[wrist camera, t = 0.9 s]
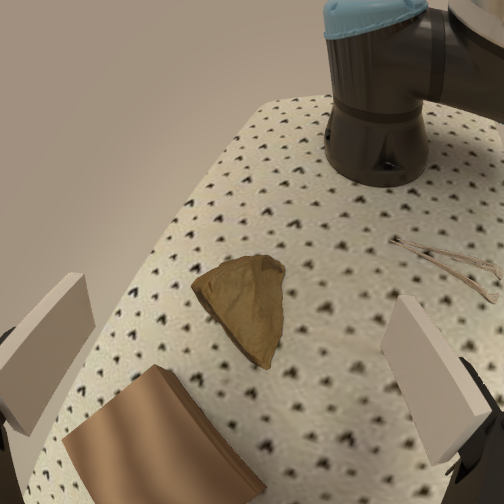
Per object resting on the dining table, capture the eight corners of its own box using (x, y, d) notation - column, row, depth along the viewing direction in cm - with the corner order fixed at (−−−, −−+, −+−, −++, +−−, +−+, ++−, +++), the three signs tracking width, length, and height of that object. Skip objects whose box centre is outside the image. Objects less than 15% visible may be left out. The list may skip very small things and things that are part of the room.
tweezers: (501, 273, 27) (507, 264, 25) (493, 308, 25) (500, 301, 23) (374, 223, 36) (374, 213, 34) (359, 253, 34) (359, 243, 33)
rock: (249, 233, 34) (179, 292, 30) (281, 207, 26) (190, 283, 22) (310, 307, 35) (249, 369, 31) (356, 302, 27) (282, 385, 23)
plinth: (173, 373, 30) (154, 364, 26) (267, 487, 21) (257, 495, 18) (85, 442, 26) (61, 439, 23) (155, 549, 18) (135, 559, 15)
